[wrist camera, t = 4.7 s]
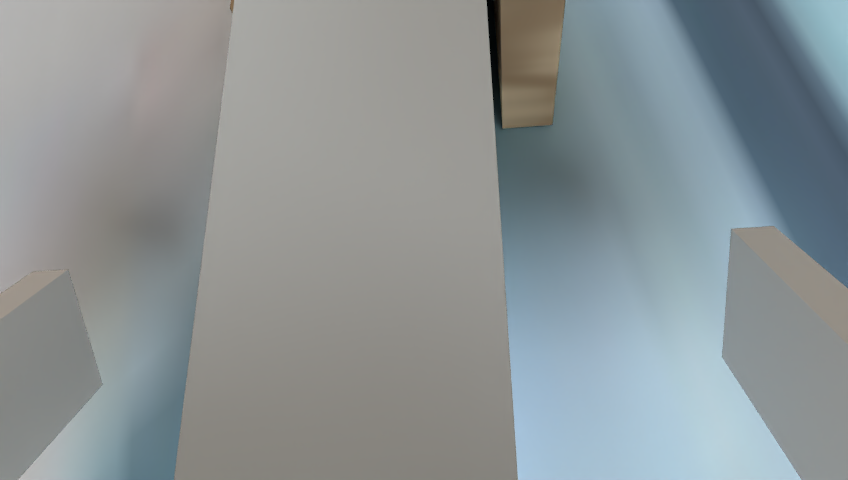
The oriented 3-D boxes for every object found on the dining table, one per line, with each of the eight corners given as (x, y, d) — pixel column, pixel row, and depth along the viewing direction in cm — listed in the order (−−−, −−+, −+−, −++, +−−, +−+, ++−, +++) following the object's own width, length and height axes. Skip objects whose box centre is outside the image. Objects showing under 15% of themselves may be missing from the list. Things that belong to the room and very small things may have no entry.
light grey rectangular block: (478, -39, 24) (460, -395, 15) (513, 518, 17) (518, 489, 8) (365, -28, 24) (280, -369, 15) (351, 521, 17) (171, 497, 8)
